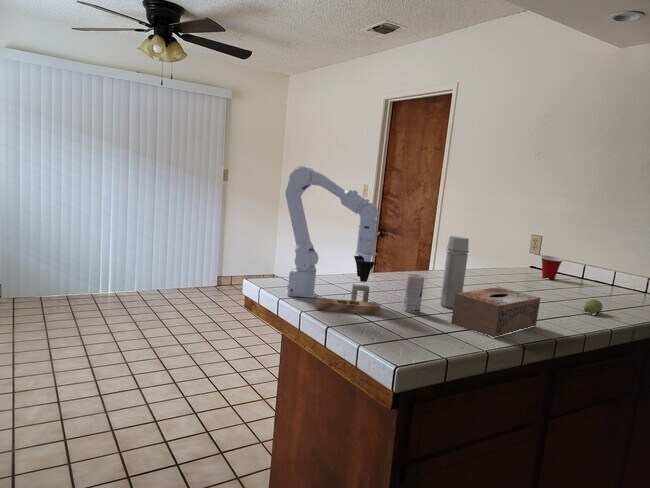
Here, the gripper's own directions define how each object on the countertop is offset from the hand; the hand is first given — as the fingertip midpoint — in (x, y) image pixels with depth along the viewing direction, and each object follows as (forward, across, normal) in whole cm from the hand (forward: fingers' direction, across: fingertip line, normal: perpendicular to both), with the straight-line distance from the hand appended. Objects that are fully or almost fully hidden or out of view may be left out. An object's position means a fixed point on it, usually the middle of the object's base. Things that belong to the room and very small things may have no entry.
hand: (361, 278), depth 153 cm
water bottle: (+9, +5, -33) cm, 34 cm away
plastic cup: (+9, +82, -114) cm, 141 cm away
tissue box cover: (+9, -14, -42) cm, 45 cm away
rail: (+8, -10, +5) cm, 14 cm away
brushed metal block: (+8, 0, 0) cm, 8 cm away
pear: (+9, +13, -92) cm, 93 cm away
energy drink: (+9, -5, -17) cm, 20 cm away
